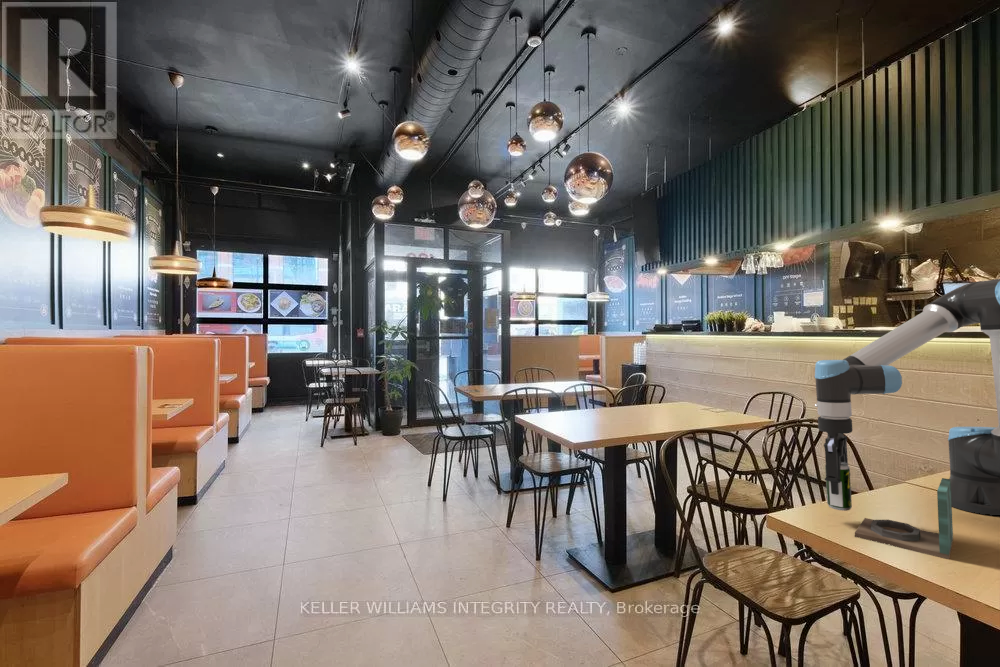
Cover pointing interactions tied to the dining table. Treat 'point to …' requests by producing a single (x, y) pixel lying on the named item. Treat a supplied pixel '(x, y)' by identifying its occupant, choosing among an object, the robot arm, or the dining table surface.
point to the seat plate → (915, 529)
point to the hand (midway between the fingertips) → (839, 502)
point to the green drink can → (845, 488)
